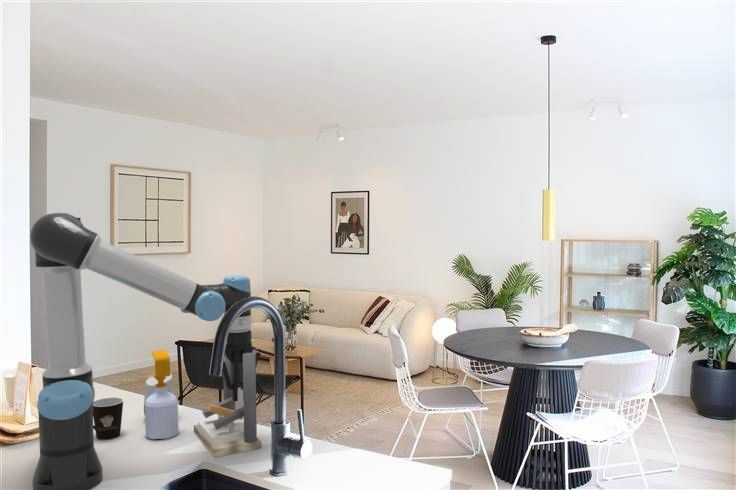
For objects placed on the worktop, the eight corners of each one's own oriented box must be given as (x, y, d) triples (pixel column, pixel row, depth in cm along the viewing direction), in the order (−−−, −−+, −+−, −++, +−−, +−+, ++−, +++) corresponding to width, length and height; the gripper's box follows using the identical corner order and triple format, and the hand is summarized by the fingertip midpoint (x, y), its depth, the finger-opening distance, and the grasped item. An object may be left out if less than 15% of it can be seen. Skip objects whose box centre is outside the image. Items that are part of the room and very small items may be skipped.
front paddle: (216, 429, 166) (214, 424, 166) (214, 427, 168) (212, 422, 168) (250, 412, 171) (248, 407, 170) (247, 410, 173) (245, 405, 173)
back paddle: (206, 418, 176) (204, 413, 175) (203, 415, 178) (202, 411, 178) (238, 402, 180) (236, 397, 180) (235, 400, 182) (233, 395, 182)
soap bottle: (173, 427, 185) (171, 346, 184) (182, 436, 178) (179, 352, 176) (142, 433, 180) (140, 350, 179) (150, 442, 173) (147, 356, 171)
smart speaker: (137, 421, 191) (136, 376, 190) (161, 413, 199) (160, 370, 198) (158, 426, 186) (156, 381, 185) (181, 417, 194) (180, 374, 193)
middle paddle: (209, 411, 171) (211, 405, 171) (207, 409, 173) (209, 403, 173) (241, 420, 175) (243, 414, 176) (239, 417, 177) (241, 412, 178)
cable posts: (246, 443, 166) (244, 356, 165) (222, 419, 185) (221, 341, 184) (258, 441, 168) (257, 354, 166) (233, 417, 187) (232, 340, 186)
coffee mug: (129, 430, 182) (128, 397, 182) (115, 441, 174) (113, 406, 173) (92, 429, 183) (91, 396, 183) (76, 440, 175) (74, 406, 174)
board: (214, 457, 162) (214, 449, 162) (193, 431, 181) (193, 425, 181) (261, 447, 168) (261, 440, 168) (236, 424, 187) (236, 417, 187)
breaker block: (212, 445, 165) (211, 427, 165) (198, 428, 178) (197, 411, 178) (255, 437, 171) (254, 419, 171) (238, 421, 184) (238, 405, 184)
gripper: (219, 334, 168) (220, 419, 170) (264, 329, 175) (265, 411, 176) (211, 330, 175) (213, 411, 176) (255, 325, 181) (256, 404, 183)
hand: (239, 411), depth 176 cm, fingers closed
